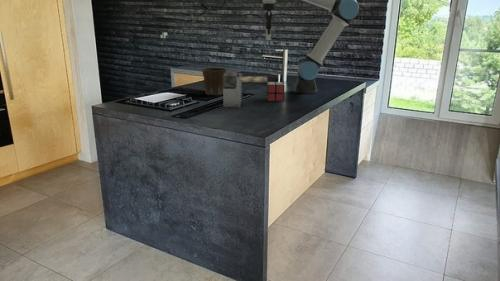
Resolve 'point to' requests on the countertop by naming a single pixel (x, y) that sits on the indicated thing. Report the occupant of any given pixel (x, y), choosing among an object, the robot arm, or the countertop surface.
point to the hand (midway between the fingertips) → (268, 39)
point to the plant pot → (214, 80)
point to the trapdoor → (231, 79)
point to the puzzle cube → (275, 91)
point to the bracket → (233, 94)
